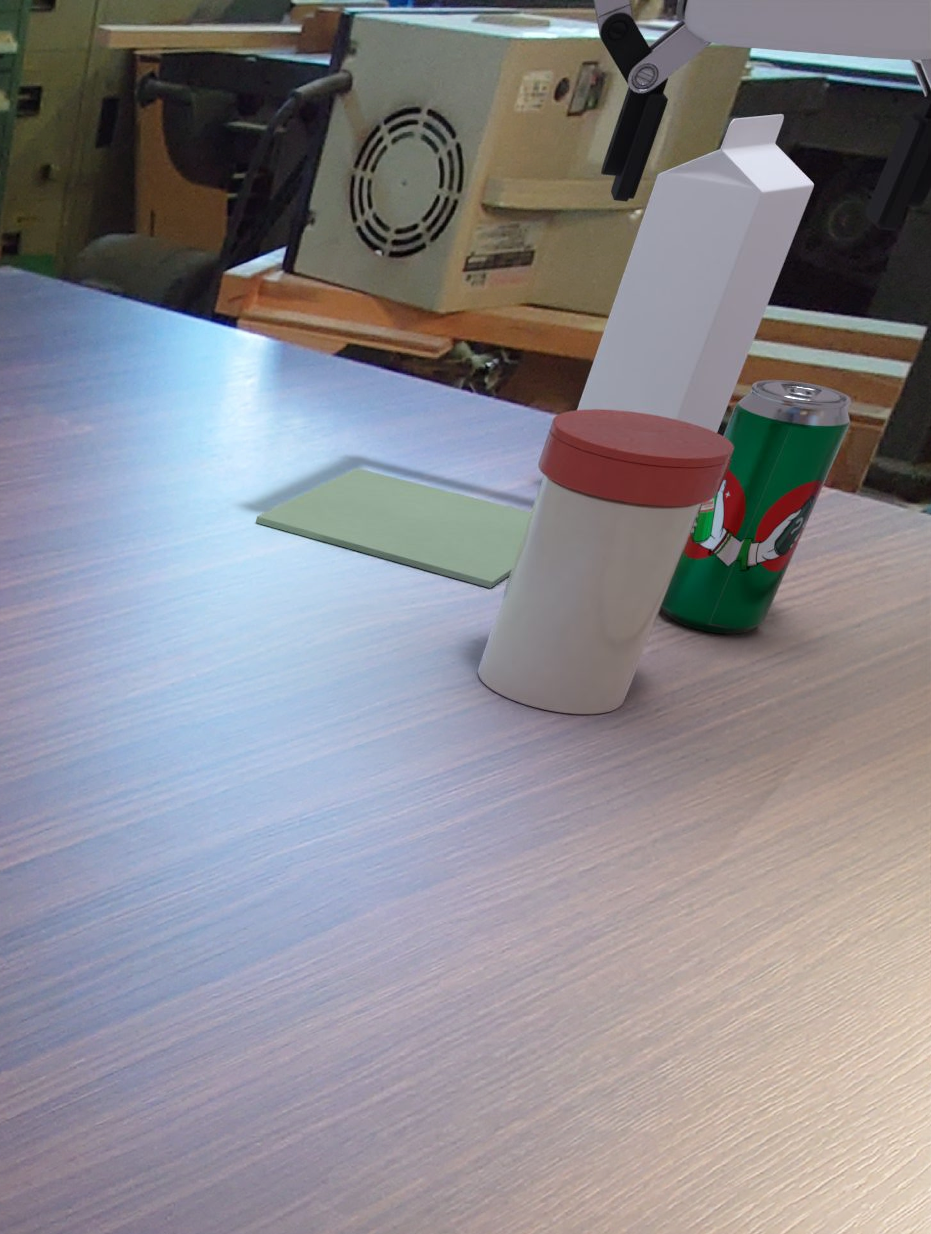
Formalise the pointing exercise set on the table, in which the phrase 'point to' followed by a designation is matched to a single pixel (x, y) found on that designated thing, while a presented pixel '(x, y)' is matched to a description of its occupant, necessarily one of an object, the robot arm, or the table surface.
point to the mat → (408, 525)
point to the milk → (700, 279)
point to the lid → (635, 457)
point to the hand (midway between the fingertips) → (747, 210)
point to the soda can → (758, 505)
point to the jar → (582, 599)
